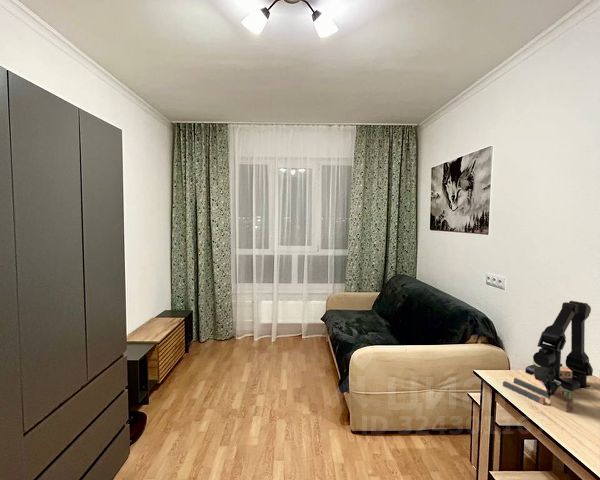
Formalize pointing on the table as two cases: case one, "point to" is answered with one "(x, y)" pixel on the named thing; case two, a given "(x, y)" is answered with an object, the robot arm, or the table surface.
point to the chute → (526, 393)
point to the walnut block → (561, 402)
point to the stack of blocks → (566, 374)
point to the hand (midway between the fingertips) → (550, 396)
